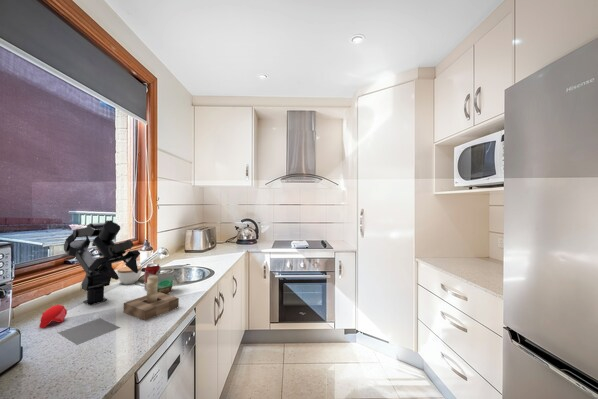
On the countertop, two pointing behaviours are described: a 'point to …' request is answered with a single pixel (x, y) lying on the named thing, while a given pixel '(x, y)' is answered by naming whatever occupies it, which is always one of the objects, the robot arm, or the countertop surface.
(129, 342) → the countertop surface
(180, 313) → the countertop surface
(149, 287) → the peg
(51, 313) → the cap
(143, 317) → the hole block
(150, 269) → the soda can
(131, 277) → the lidded jar
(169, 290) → the food container
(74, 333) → the mat
